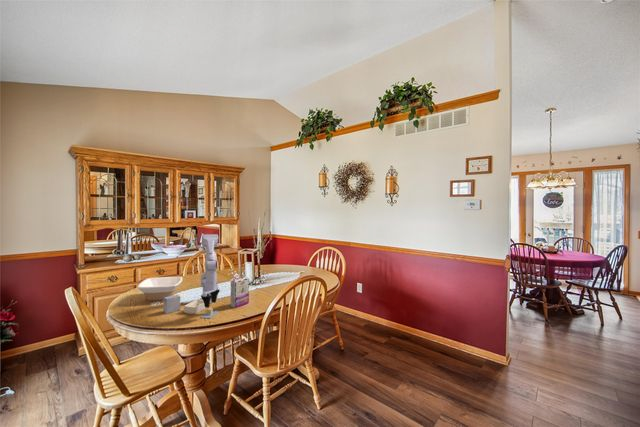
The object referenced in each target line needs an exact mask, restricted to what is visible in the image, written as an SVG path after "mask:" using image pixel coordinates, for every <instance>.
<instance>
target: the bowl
mask: <svg viewBox="0 0 640 427" xmlns="http://www.w3.org/2000/svg"><path fill="white" fill-rule="evenodd" d="M182 281H183V277H182V276H165V277H164V276H163V277H161V276H160V277H157V276H156V277H148V278H146V279H143V280H142V281H141V282H139V284H138V285H137V290H139V291H140V292H142V293H143V294H144V295H145V297H146V298H147V300H148V301H149V302H151V301H154V302H155V301H156V302H157V301H163V298H165V297H169V296H173V295H174V294H175V291H176V289H177V288H178V287H179V285H180V284H181V283H182Z"/></svg>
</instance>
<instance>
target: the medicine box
mask: <svg viewBox="0 0 640 427" xmlns="http://www.w3.org/2000/svg"><path fill="white" fill-rule="evenodd" d="M162 301H163V302H162V303H163V304H162V307H163V309H162V310H163V313H164V314H166V315H167V314H172V313H175V312H179V311H181V296H180V295H178V294H173V295H172V296H169V297H165V298H163V300H162Z"/></svg>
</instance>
